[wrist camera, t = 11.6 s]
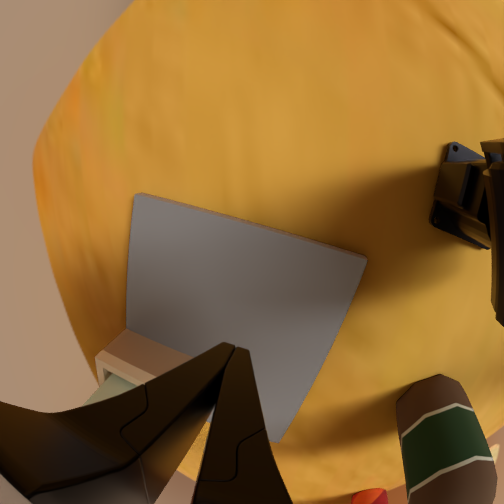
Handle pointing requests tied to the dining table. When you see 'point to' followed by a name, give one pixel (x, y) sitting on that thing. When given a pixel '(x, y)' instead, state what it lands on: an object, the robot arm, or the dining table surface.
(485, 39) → the dining table surface
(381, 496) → the paper cup
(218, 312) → the board
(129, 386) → the green block
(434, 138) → the dining table surface
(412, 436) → the beer bottle
